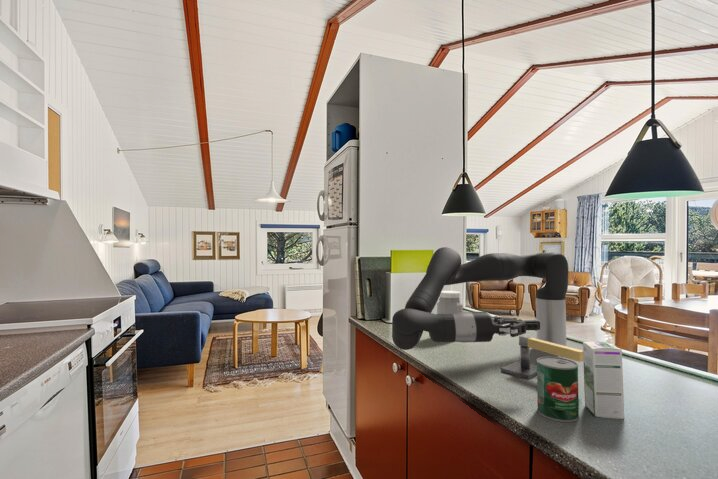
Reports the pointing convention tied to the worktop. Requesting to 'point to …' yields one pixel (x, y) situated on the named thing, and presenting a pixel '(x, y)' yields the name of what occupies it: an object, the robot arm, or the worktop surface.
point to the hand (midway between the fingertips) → (538, 324)
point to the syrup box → (603, 379)
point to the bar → (552, 348)
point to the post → (522, 365)
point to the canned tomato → (557, 389)
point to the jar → (449, 302)
